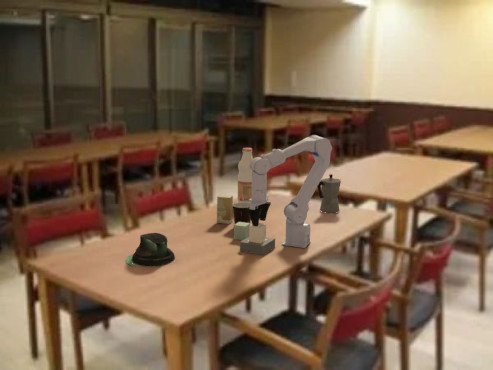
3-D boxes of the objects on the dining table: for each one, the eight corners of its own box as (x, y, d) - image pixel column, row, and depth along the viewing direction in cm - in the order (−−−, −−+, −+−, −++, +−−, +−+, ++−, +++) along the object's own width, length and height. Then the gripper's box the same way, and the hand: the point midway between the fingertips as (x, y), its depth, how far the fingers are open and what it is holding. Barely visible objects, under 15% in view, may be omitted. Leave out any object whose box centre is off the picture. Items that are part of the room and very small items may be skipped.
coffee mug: (239, 223, 260) (239, 201, 258) (256, 226, 256) (256, 204, 254) (224, 230, 251) (224, 207, 248) (242, 233, 246) (242, 210, 244)
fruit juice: (233, 203, 294) (233, 148, 287) (247, 200, 300) (247, 146, 294) (246, 207, 287) (247, 150, 281) (260, 203, 293) (260, 148, 287)
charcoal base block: (274, 248, 229) (275, 238, 228) (262, 256, 220) (263, 245, 220) (252, 244, 234) (252, 234, 233) (239, 251, 225) (239, 241, 224)
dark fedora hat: (184, 251, 225) (184, 228, 223) (174, 270, 205) (173, 245, 203) (134, 249, 226) (133, 226, 224) (119, 268, 207) (118, 243, 205)
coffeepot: (331, 206, 289) (333, 171, 285) (346, 210, 282) (347, 174, 277) (309, 212, 279) (310, 175, 275) (324, 216, 272) (325, 178, 268)
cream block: (265, 238, 228) (266, 224, 226) (261, 242, 223) (261, 227, 222) (253, 237, 229) (254, 222, 228) (249, 240, 225) (249, 226, 224)
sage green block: (250, 237, 242) (250, 223, 240) (245, 240, 237) (245, 226, 236) (238, 235, 243) (239, 221, 242) (233, 239, 239) (233, 224, 238)
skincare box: (216, 223, 260) (216, 196, 258) (219, 220, 264) (219, 194, 262) (230, 224, 259) (230, 197, 256) (233, 221, 263) (233, 195, 260)
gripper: (256, 184, 232) (256, 217, 235) (242, 192, 219) (242, 226, 222) (273, 185, 229) (272, 219, 232) (259, 193, 216) (259, 229, 219)
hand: (258, 223), depth 227 cm, fingers open, 7 cm apart
